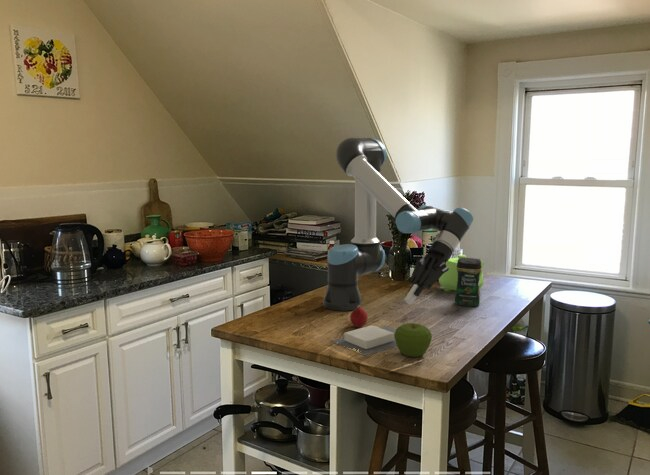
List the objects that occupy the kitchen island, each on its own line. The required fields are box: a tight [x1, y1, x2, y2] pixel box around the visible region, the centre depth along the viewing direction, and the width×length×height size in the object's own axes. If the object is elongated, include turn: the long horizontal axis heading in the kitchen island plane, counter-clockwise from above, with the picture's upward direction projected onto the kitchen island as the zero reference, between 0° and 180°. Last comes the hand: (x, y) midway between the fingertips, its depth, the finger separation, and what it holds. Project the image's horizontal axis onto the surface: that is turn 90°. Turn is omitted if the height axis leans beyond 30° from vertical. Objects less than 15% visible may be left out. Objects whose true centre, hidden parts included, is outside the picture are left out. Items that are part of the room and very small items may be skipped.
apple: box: [394, 322, 433, 358], centre depth 159 cm, size 11×10×10 cm
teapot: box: [438, 254, 485, 293], centre depth 236 cm, size 25×22×16 cm
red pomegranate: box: [349, 305, 368, 329], centre depth 184 cm, size 6×6×8 cm
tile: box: [343, 324, 394, 349], centre depth 170 cm, size 3×10×12 cm
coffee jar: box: [454, 257, 483, 307], centre depth 213 cm, size 10×8×19 cm
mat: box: [331, 325, 398, 357], centre depth 172 cm, size 24×16×1 cm, turn 129°
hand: (407, 302), depth 178 cm, fingers closed
